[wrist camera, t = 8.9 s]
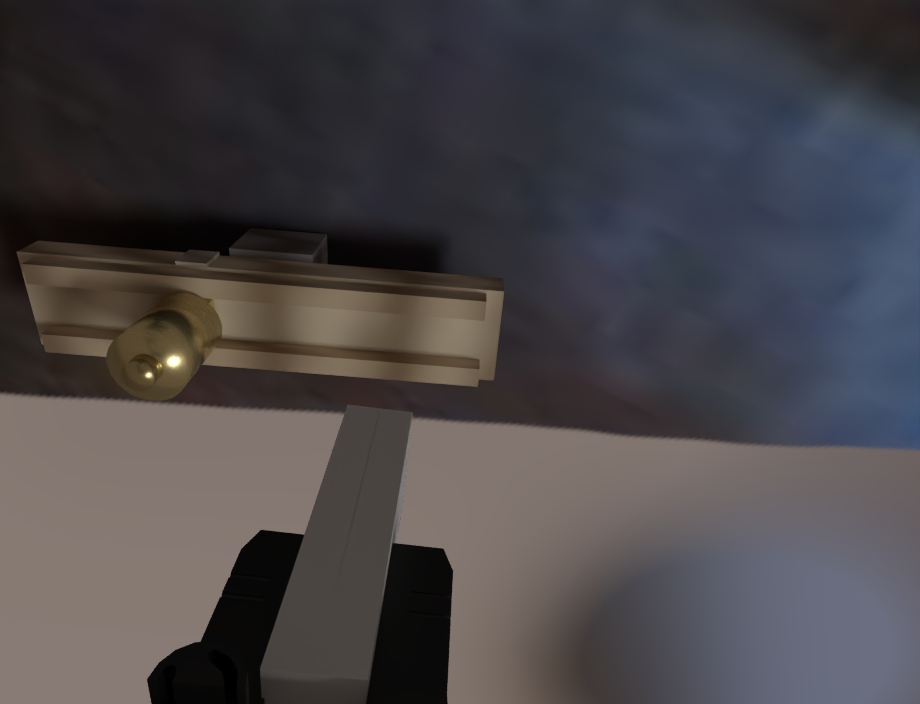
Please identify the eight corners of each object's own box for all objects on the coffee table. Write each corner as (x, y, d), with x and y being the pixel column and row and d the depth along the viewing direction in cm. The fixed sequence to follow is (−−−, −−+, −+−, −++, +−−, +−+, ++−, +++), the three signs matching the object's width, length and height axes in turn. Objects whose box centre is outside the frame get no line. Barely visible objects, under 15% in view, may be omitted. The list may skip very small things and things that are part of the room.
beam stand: (96, 311, 44) (31, 360, 38) (74, 213, 41) (0, 250, 35) (491, 342, 45) (493, 397, 38) (502, 248, 41) (505, 291, 35)
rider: (166, 342, 38) (104, 408, 32) (156, 281, 36) (88, 338, 30) (232, 348, 38) (183, 414, 32) (226, 287, 36) (171, 345, 30)
